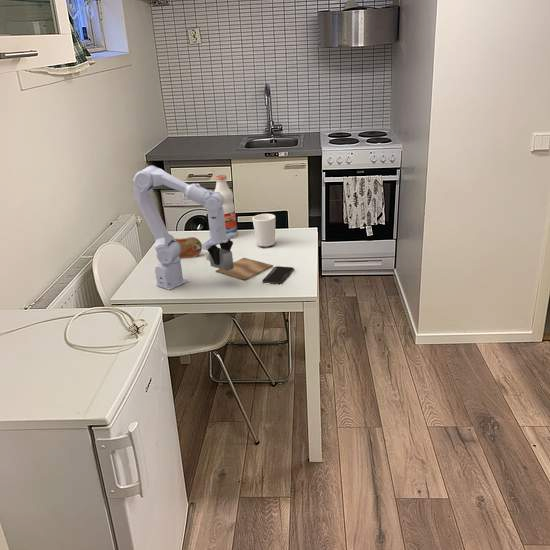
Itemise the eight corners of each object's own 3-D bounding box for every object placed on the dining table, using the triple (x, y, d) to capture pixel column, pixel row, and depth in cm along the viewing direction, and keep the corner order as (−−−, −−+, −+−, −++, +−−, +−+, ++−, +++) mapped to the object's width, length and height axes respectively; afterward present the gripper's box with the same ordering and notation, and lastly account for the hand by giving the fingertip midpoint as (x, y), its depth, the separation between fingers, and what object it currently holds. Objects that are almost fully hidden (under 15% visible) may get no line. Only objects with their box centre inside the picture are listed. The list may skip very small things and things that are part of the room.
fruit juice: (227, 231, 267) (220, 173, 256) (241, 234, 261) (235, 174, 250) (213, 237, 260) (205, 177, 249) (227, 241, 254) (220, 179, 244)
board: (244, 280, 211) (244, 279, 211) (215, 272, 221) (215, 270, 221) (273, 266, 222) (273, 265, 222) (244, 259, 232) (243, 257, 232)
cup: (261, 240, 252) (259, 213, 247) (281, 242, 247) (279, 214, 242) (250, 248, 244) (248, 219, 239) (271, 250, 239) (268, 221, 234)
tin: (167, 259, 238) (164, 240, 235) (168, 257, 241) (165, 238, 238) (202, 256, 238) (200, 237, 235) (203, 254, 241) (201, 235, 238)
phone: (261, 281, 208) (275, 265, 220) (261, 284, 208) (276, 268, 221) (281, 283, 205) (294, 267, 218) (281, 285, 205) (295, 270, 218)
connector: (228, 271, 203) (226, 255, 201) (205, 264, 211) (203, 249, 208) (235, 267, 206) (234, 252, 203) (213, 261, 213) (211, 246, 211)
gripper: (209, 234, 194) (214, 271, 200) (239, 222, 204) (243, 258, 209) (196, 231, 199) (201, 267, 204) (225, 220, 209) (229, 254, 214)
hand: (221, 262), depth 207 cm, fingers closed on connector, 4 cm apart
